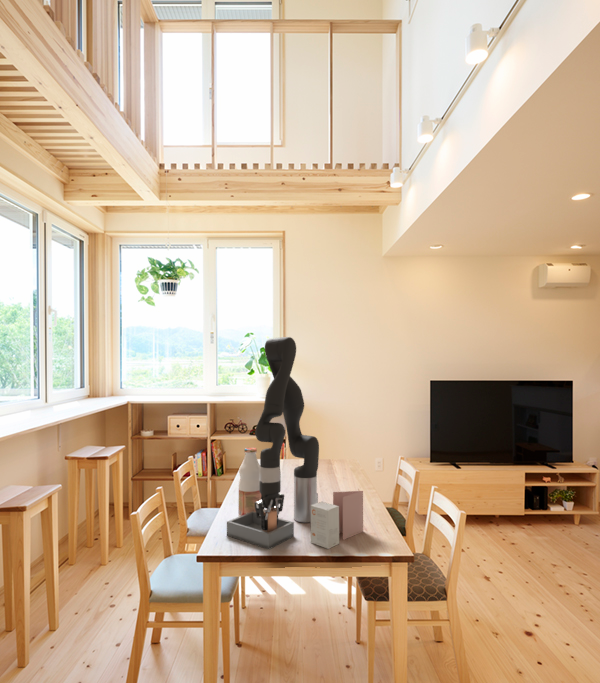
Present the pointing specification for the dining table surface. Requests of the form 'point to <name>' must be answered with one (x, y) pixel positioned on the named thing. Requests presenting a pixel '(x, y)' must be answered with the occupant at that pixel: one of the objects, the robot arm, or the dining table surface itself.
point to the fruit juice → (249, 482)
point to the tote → (259, 531)
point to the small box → (325, 524)
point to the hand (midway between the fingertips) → (269, 527)
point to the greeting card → (349, 512)
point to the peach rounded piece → (271, 520)
